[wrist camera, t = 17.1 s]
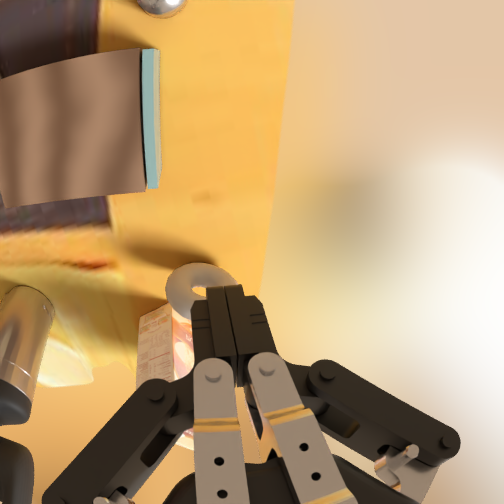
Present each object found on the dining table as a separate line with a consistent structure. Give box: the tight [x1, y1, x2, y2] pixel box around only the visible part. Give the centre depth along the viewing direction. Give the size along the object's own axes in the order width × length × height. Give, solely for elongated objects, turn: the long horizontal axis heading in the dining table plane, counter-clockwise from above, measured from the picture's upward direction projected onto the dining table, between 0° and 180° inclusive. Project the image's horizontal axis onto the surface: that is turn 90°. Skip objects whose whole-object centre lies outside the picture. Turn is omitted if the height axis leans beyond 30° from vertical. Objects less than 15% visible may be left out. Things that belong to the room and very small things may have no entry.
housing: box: [0, 48, 147, 208], centre depth 25 cm, size 17×14×6 cm
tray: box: [140, 49, 162, 189], centre depth 26 cm, size 17×14×6 cm
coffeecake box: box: [136, 303, 194, 451], centre depth 43 cm, size 15×7×20 cm, turn 26°
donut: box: [165, 263, 238, 321], centre depth 39 cm, size 10×4×10 cm, turn 73°
